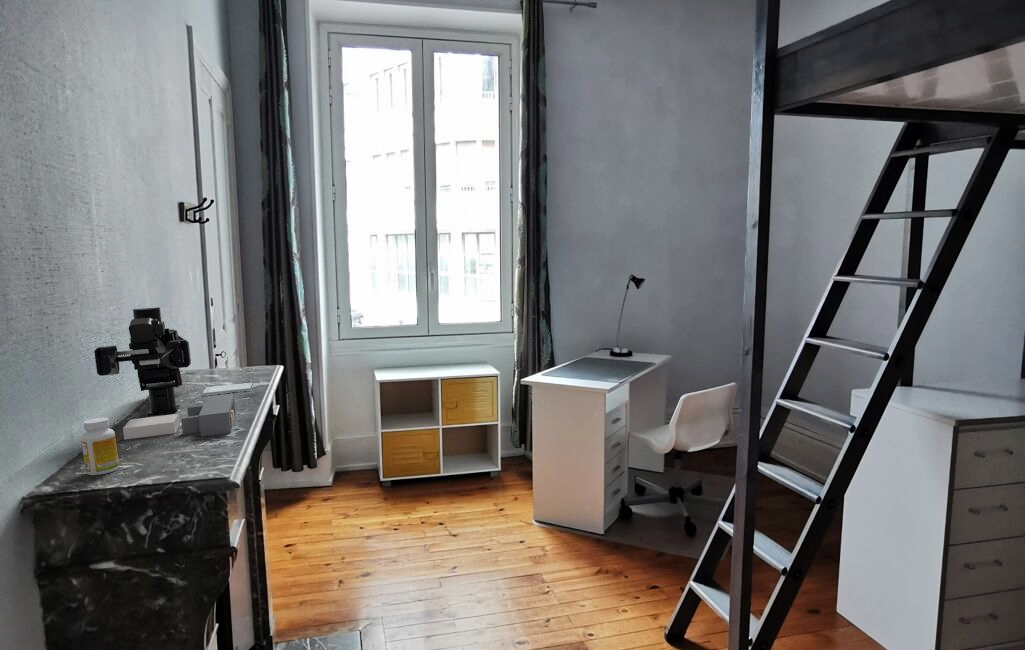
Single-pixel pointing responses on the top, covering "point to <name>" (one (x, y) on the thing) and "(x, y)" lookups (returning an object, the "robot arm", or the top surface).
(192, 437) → the top surface
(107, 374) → the robot arm
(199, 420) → the dock
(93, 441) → the supplement bottle
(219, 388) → the hard drive
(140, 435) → the white flat block
